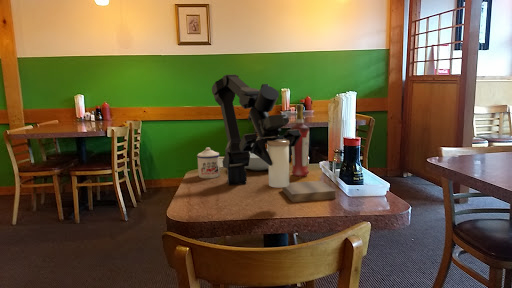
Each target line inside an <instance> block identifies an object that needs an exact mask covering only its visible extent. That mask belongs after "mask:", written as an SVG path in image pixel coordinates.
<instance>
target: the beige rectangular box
mask: <svg viewBox="0 0 512 288" xmlns="http://www.w3.org/2000/svg"><path fill="white" fill-rule="evenodd" d="M281 191H282V193H284V195H285V196H287V198H288V199H289V200H290V201H291V202H292V203H297V202H308V201H321V200H323V201H324V200H335V199H336V190H335V189H334V188H332V187H331V186H329V184H327V183H325V182H324V181H323V180H311V181H309V180H308V181H298V182H296V181H295V182H289V186H287V187H281Z"/></svg>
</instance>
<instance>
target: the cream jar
mask: <svg viewBox="0 0 512 288" xmlns="http://www.w3.org/2000/svg"><path fill="white" fill-rule="evenodd" d="M266 146H267V149H268V154H269V156H270V158H271V161H272V165H271V166H270V165H268V169H267V170H268V186H269V187H272V188H279V189H280V188H282V187H287V186H289V183H290V163H289V140H284V139H275V140H268V141H267V144H266Z"/></svg>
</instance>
